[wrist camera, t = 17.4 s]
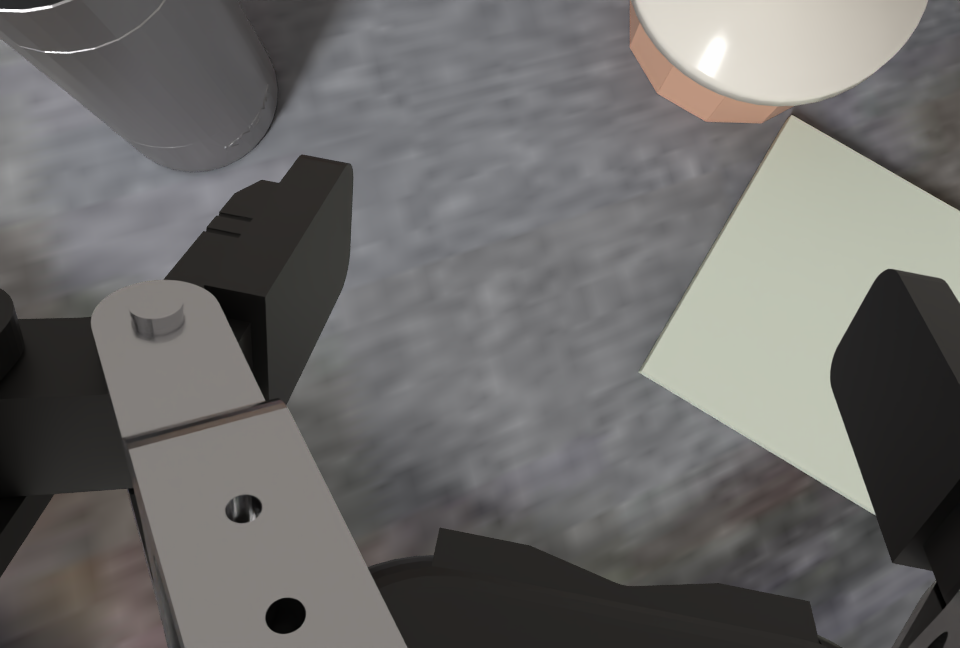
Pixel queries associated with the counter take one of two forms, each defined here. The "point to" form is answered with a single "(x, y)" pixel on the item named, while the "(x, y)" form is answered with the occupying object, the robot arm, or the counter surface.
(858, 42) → the lid
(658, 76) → the bowl
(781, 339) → the mat
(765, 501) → the counter surface
